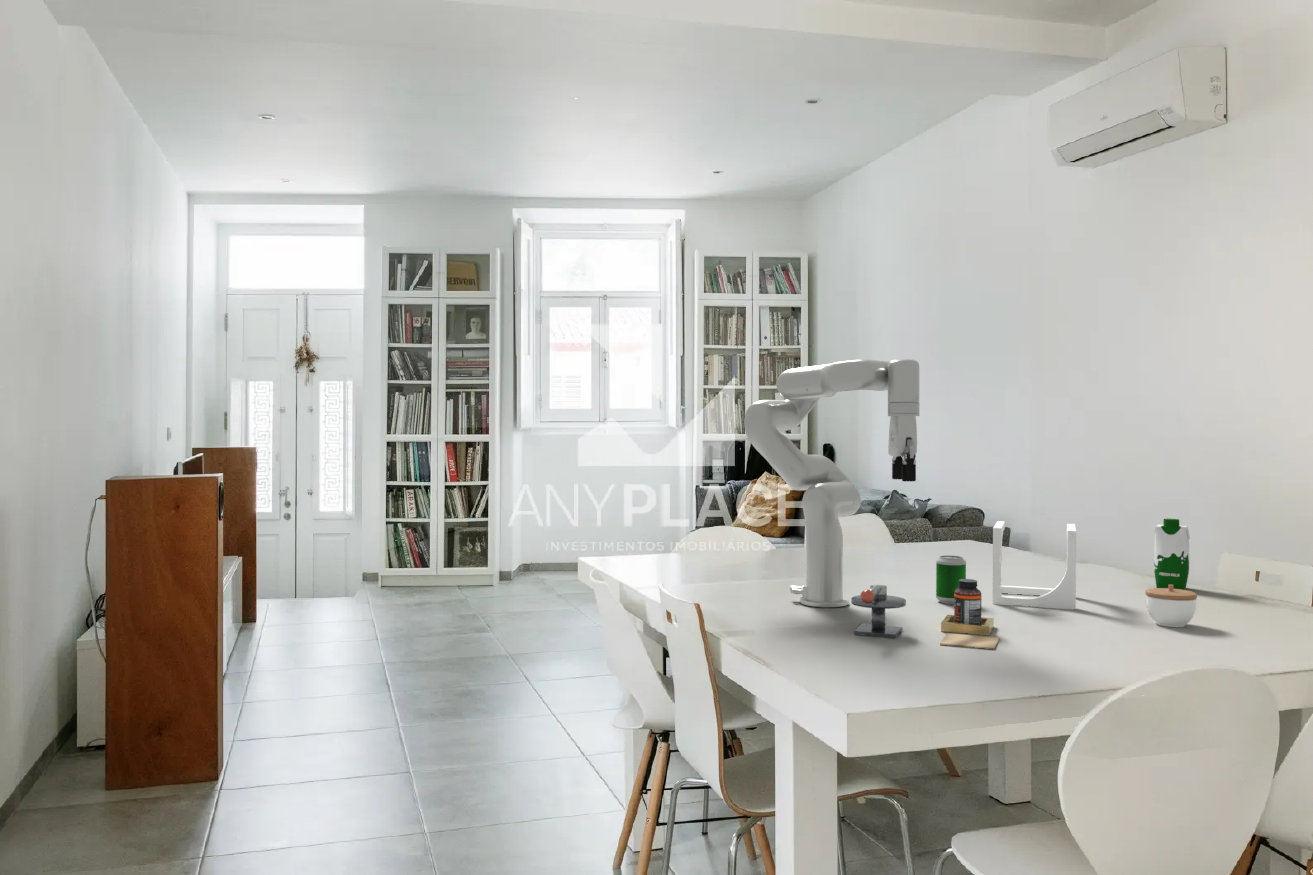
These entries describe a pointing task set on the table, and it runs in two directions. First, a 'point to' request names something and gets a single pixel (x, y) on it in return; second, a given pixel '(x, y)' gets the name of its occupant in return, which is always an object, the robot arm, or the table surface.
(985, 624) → the square wooden frame
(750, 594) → the table surface
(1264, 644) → the table surface
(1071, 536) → the bookend
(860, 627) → the grey pedestal base
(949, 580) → the soda can
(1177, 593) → the lidded jar
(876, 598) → the handwheel
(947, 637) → the cork mat
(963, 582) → the supplement bottle
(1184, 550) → the milk carton
